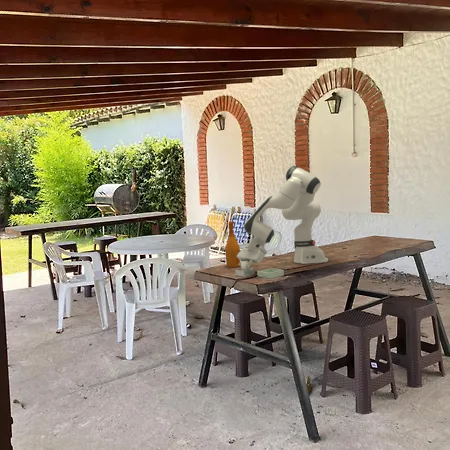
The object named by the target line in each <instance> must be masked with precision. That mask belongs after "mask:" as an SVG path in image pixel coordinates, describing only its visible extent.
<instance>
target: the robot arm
mask: <svg viewBox="0 0 450 450" xmlns="http://www.w3.org/2000/svg"><path fill="white" fill-rule="evenodd" d="M285 179H286V181H285V182H284V184H283V185H282V186H281V188H280V189H279V190H278V192H277V193H276V194H275V195H273V196H272V195H271V196H269V197H268V198H266V200H264V202H263V203H262V204H260V206H259V207H258V209H257V210H256V211H255V212H254V213H253V214H252V215H251V216H250V217H249V218H248V219H246V221H245V222H244V225H243V227H244V228H243V229H244V231H245V233H247V234H250V235H251V236H253V238H252V239H251V240H250V242H249V243H248V245H247V246H245V247H242V248H240V252H239V253H238V255H237V258H238V259H239V260H240V263H239V267H241V258H247V261H248V264H247V265H246V267H248V268H250V267H251V266H252V265H254V263H258V264H259V263H261V262H262V261H263V259H264V258H265V255H267V253H268V251H267V250H266V248H265V245H266V244H270V243H271V240H272V238H274V236H275V230H274V229H273V227H272V226H271V225H269V224H267V223H264V222H263V221H261V220H260V219H259V218H260V217H261V216H262V215H263V213H265V212H266V211H267V210H269V209H275V210H276V209H277V210H281V212H282V216H283V218H284V219H285V220H288V221H297V220H299V221H300V220H301V222H300V224H298V225H297V226H295V228H294V230H293V231H294V233H293V234H294V240H293V241H294V242H293V246H294V247H293V248H294V258H293V263H295V264H302V265H304V264H306V265H308V264H319V263H327V262H329V258H328V257H326V256H325V253H324V252H325V251H324V250H322V249H321V248H320V247H318V246H317V245H316V241H315V240H314V239H312V230H313V229H312V228H313V224H314V222H315V220H316V219H317V218H318V217H319V216H320V215H321V211H322V207H321V206H320V204H319V203H318V202H315V201H314V198H315V195H316V193H317V192H318V191H319V189H320V187H321V181H320V179H319V178H318V177H317V176H316V175H315V174H314V173H312V172H311V173H310V172H309V171H307V170H305V169H303V168H301V167H299V166H296V165H292V166H291V167H289V168H288V169H287V171H286V173H285Z"/></svg>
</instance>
